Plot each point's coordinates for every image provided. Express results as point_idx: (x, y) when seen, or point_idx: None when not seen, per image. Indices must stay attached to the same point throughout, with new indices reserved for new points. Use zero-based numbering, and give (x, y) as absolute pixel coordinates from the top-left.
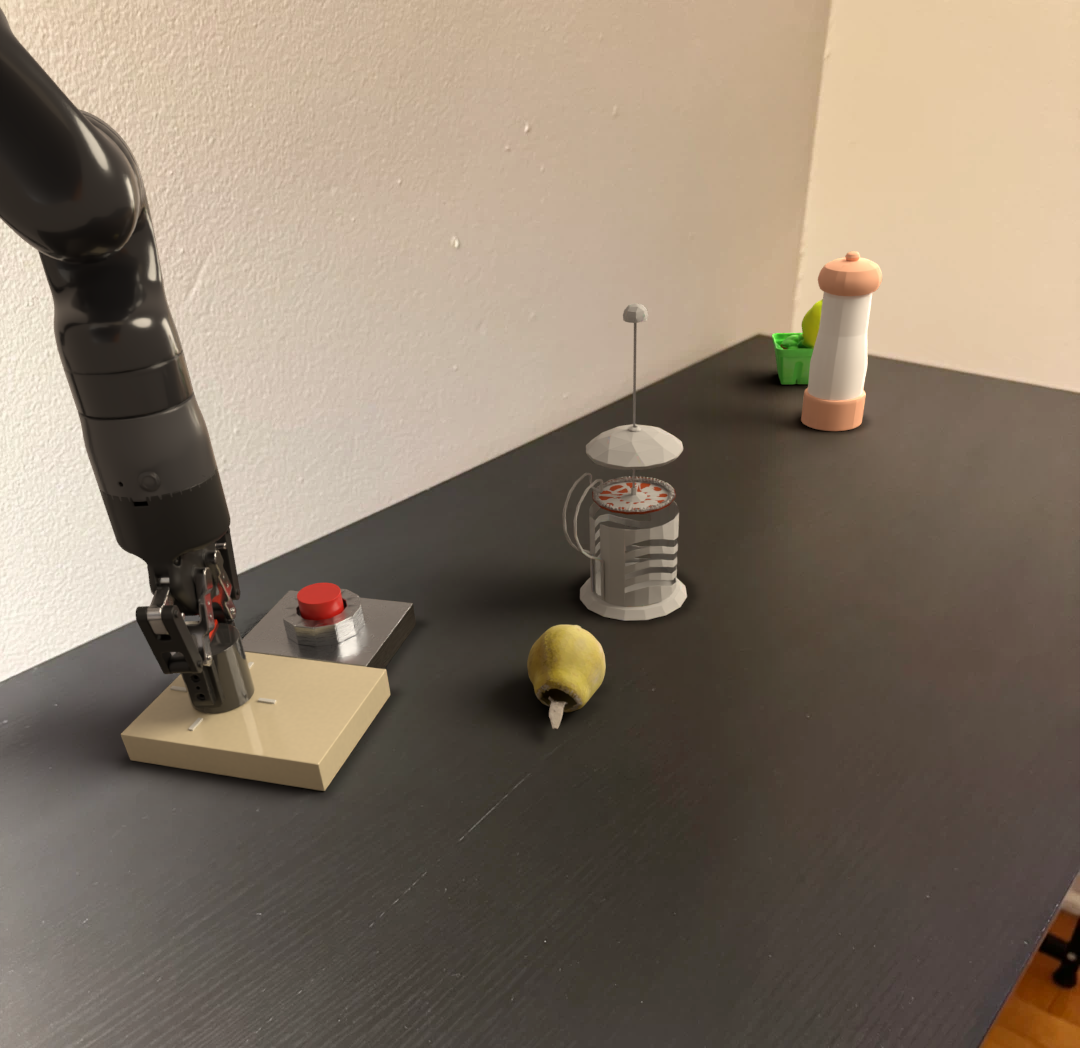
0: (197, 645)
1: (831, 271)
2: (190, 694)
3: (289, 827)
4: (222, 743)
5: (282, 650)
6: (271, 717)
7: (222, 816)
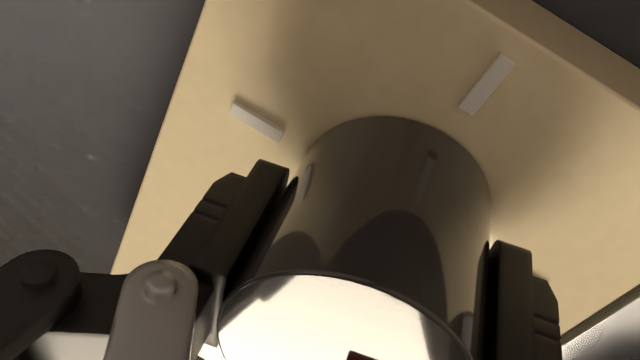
0: (303, 341)
1: None
2: (244, 184)
3: (53, 194)
4: (170, 171)
5: (590, 351)
6: None
7: (71, 96)
